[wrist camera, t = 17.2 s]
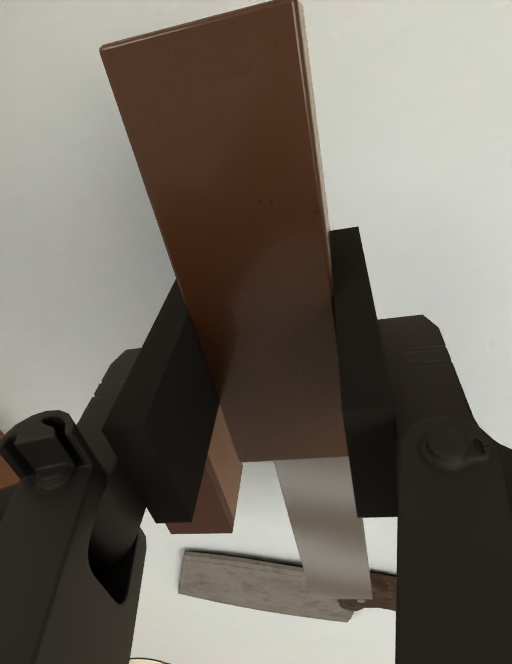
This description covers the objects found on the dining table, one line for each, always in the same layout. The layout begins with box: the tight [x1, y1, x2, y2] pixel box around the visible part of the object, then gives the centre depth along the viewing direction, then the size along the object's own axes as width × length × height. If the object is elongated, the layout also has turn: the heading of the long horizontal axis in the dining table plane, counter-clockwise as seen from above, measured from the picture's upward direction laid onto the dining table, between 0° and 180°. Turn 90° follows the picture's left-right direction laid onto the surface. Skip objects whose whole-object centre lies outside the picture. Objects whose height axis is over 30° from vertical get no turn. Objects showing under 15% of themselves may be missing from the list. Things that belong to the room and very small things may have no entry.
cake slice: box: [165, 405, 243, 534], centre depth 27 cm, size 10×4×5 cm, turn 11°
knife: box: [99, 0, 373, 599], centre depth 15 cm, size 24×3×4 cm, turn 12°
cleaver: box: [178, 551, 397, 622], centre depth 40 cm, size 29×10×2 cm, turn 88°
